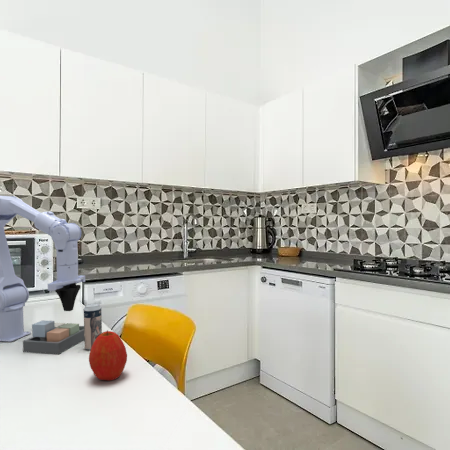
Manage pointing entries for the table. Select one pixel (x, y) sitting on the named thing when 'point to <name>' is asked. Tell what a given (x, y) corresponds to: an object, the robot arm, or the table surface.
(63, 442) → the table surface
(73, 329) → the key sage
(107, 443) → the table surface
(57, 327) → the off-white square block
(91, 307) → the beer can
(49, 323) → the pale blue block
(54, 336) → the key terracotta
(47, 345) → the grey tray
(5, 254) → the robot arm
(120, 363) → the apple
